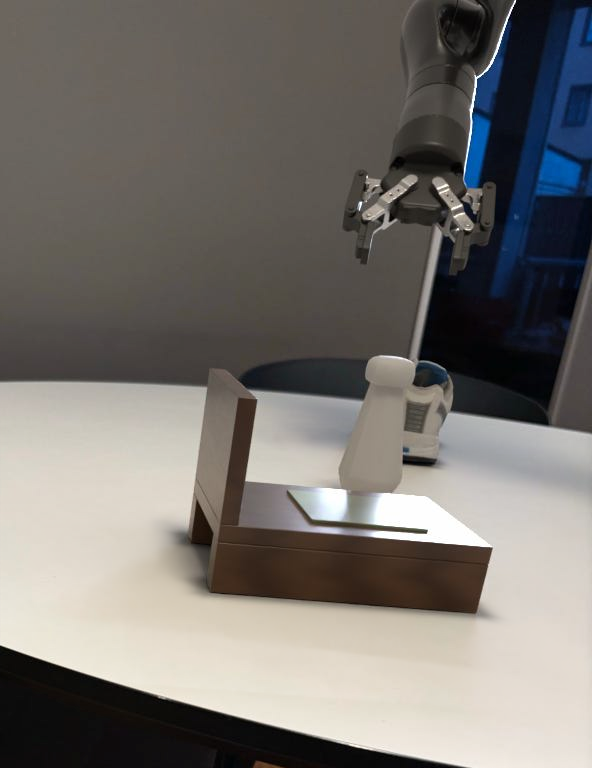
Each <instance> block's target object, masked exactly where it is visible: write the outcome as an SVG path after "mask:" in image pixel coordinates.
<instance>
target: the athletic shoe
mask: <svg viewBox="0 0 592 768" xmlns="http://www.w3.org/2000/svg"><path fill="white" fill-rule="evenodd" d="M410 361H412V362H413V364H414V365H415V377H414V381H413V383H412V385H410V386H407V387H405V388H403V459H402V461H406V462H418V463H436V462H437V461H438V458H439V455H440V454H439V453H440V434H439V433H440V431H441V428H442V427H443V425H444V423H445V421H446V419H447V416H449V415H448V414H449V413H450V412H451V409H452V406H453V400H454V384H453V381H452V378H451V376H450V375H449V374H447V370H446V368H444V367H443V366H442V365H439V363H435V362H432V361H430V360H419V359H418V358H417V357H416V356H415V357H413V358H412V359H410Z"/></svg>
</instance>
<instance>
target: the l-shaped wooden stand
mask: <svg viewBox="0 0 592 768" xmlns="http://www.w3.org/2000/svg"><path fill="white" fill-rule="evenodd" d="M207 378H208V379H207V385H206V386H207V387H206V393H205V395H206V396H205V400H204V401H205V402H204V409H203V415H202V416H203V417H202V424H201V432H200V440H199V446H198V454H197V461H196V462H197V463H196V469H195V478H194V486H193V493H192V500H191V507H190V515H189V523H188V531H187V537H188V539H189V541H190V543H193V544H205V545H211V546H210V547H211V548H210V555H209V562H208V569H207V575H206V584H207V586H208V589H209V591H210V593H218V594H231V595H242V596H243V595H244V596H254V597H255V596H256V597H269V598H282V599H294V600H295V599H296V600H307V601H319V602H332V603H345V604H357V605H369V606H383V607H395V608H407V609H422V610H433V611H434V610H435V611H446V612H458V613H470V614H471V613H472V614H477V613H478V609H479V606H480V605H479V604H480V601H481V597H482V593H483V589H484V585H485V582H486V581H485V580H486V577H487V574H488V569H489V564H490V561H491V558H492V552H493V546H492V545H490V544H489V543H488V542H486V541H485V540H483V539H482V538H481V537H480V536H478V535H477V534H476V533H475V532H473V531H472V530H471V529H469V528H468V527H467V526H465V525H464V524H463V523H462V522H460V521H458V519H457V518H455V517H453V516H452V515H451V514H450V513H448V512H447V511H445V510H444V509H443V508H442V507H440V506H439V505H438V504H437V503H435V502H434V501H432V500H431V499H430V498H429V497H427V496H420V495H419V496H417V495H407V494H398V493H397V494H396V493H392V494H386V493H375V492H363V491H352V490H342V488H341V489H339V488H330V487H329V488H327V487H317V486H305V485H294V484H282V483H272V482H260V481H250V480H249V481H248V480H246V478H247V472H248V465H249V460H250V459H249V458H250V452H251V446H252V439H253V434H254V433H253V432H254V425H255V419H256V414H257V413H256V412H257V406H258V398H257V397H256V396H255V395H254V394H253V393H252V392H251V391H249V389H247V388H246V387H245V386H244V385H243V384H242V383H241V382H240V381H239V380H238V379H236V377H234V376H233V375H232V374H231V373H230V372H229V371H228V370H227V369H225V368H224V369H223V368H216V367H215V368H213V367H210V368H209V373H208V377H207Z"/></svg>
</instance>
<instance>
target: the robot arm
mask: <svg viewBox="0 0 592 768" xmlns="http://www.w3.org/2000/svg"><path fill="white" fill-rule="evenodd" d="M474 1H475V3H473V2H471V1H469V0H415V1H414V2H413V3H412V4H411V6H410V7H409V9H408V10H407V12H406V15H405V17H404V19H403V22H402V25H401V31H400V36H399V38H400V39H399V55H400V61H401V66H402V72H403V76H404V80H405V81H404V82H405V87H406V91H405V97H404V101H403V107H402V111H401V112H400V115H399V117H398V121H397V124H396V128H395V134H394V137H393V141H392V148H391V154H390V158H389V162H388V168H387V173H386V174H385V175H384V176H383V177H382V179H380V178H373V177H368V174H369V173H368V172H367V170H366V169H358V170H356V172H354V177H353V180H352V183H351V187H350V190H349V193H348V196H347V199H346V203H345V206H344V213H343V218H342V226H341V227H342V230H343V231H344V232H347V233H349V232H353V231H354V232H356V233H357V239H356V242H355V250H354V256H355V259H358V260H359V259H360V262H359V265H363V266H368V263H369V257H370V252H371V248H372V242H373V237H374V235H375V234H377V233H378V232H379V231H381V230H382V231H385V230H386V229H388V228H389V227H391V226H392V225H394V223H396V222H397V221H399V223H400V224H405V225H412V224H418V225H420V226H424V227H433V225H435V226H436V227H437V229H438V230H439V231H440V232H441V234H442V235H443V236H444V237H449V239H450V240H451V241H452V242H453V247H452V252H451V259H450V265H449V271H448V275H450V276H457V274H458V271H463V270H464V269H465V268H466V266H467V262H468V260H469V255H470V249H471V245H475V244H476V245H477V246H479V247H485V246H487V245H488V244H489V241H490V236H491V232H492V230H493V228H494V225H495V214H496V213H495V211H496V195H497V185H496V184H495V182H493V181H486V182H485V183H484V184H483V185H482V188H480V187H479V188H477V187H474V188H473V187H468V186H467V184H466V182H465V173H466V166H467V160H468V154H469V150H470V142H471V136H472V129H473V118H472V116H473V115H472V114H473V109H474V101H475V96H476V88H477V79H478V78H480V77H481V76H482V75H484V73H486V72H487V71H488V70H489V68H490V67H491V65H492V64H493V62H494V59H495V57H496V55H497V53H498V50H499V47H500V44H501V41H502V37H503V34H504V31H505V28H506V25H507V23H508V19H509V17H510V15H511V12H512V10H513V7H514V5H515V4H516V1H517V0H474ZM476 3H477V4H476ZM375 194H378V196H379V198H378V199H377V201H376V202H375V203H374V204H373V205H372V206H370V207H369V208H368V209H366V210H364V211H361V207H362V204H365V203H367V202H368V200H370V199H371V198H372V196H373V195H375ZM464 202H465V203H468V204H469V205H470V209H471V210H472V213H473V214H474V215H477V216H476V222H475V223H474V222H473V221H472V220H471V218H470V217H469V216H468V215H467V214H466V212H465V207H464V205H463V204H464Z"/></svg>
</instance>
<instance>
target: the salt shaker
mask: <svg viewBox="0 0 592 768" xmlns="http://www.w3.org/2000/svg"><path fill="white" fill-rule="evenodd" d="M364 377H365V380H366V381H368V383H369V386H368V388H367V391H366V393H365V396H364V399H363V401H362V402H363V403H362V404H361V406H360V410H359V413H358V415H357V417H356V421H355V424H354V426H353V428H352V431H351V434H350V437H349V440H348V442H347V445H346V447H345V450H344V453H343V456H342V458H341V461H340V463H339V466H338V477H339V482H340V486H341V490H352V491H363V492H375V493H386V494H394V492H395V491H396V489H397V488H398V487H399V485H400V484H401V482H402V480H403V460H402V459H403V388H405V387H407V386H410V385H412V383H413V381H414V377H415V365H414V364H413V362H412V361H411V359H407V358H405V357H401V356H395V355H377V356H376V355H375V356H373V357H371V358H370V359H368V362H367V364H366V367H365V373H364Z"/></svg>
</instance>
